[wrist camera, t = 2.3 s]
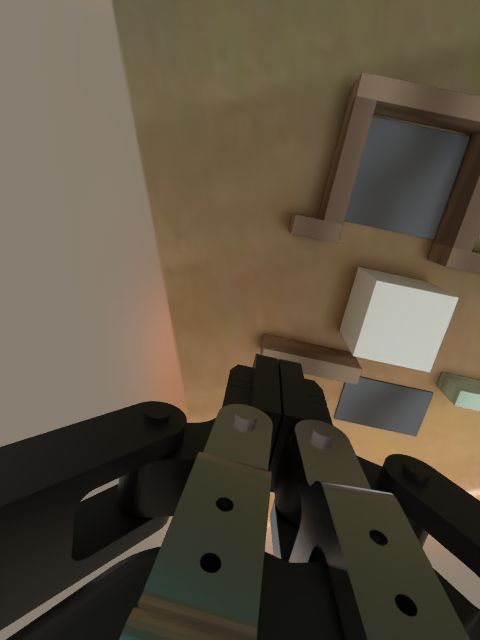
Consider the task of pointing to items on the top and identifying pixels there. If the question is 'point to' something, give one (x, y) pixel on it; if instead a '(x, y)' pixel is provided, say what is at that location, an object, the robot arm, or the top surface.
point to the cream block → (396, 319)
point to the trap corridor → (397, 222)
